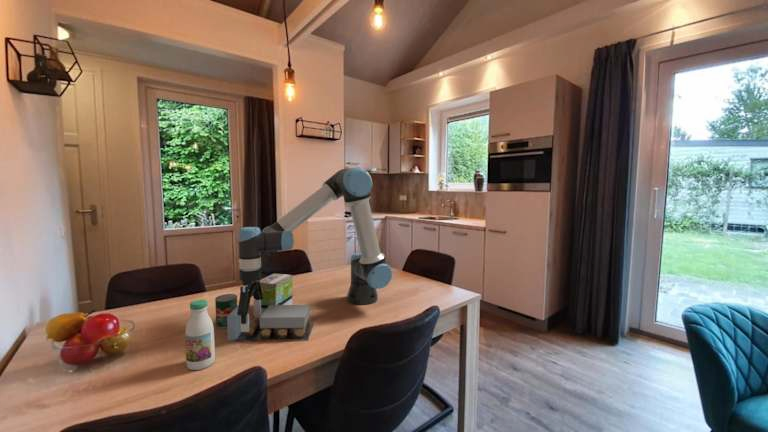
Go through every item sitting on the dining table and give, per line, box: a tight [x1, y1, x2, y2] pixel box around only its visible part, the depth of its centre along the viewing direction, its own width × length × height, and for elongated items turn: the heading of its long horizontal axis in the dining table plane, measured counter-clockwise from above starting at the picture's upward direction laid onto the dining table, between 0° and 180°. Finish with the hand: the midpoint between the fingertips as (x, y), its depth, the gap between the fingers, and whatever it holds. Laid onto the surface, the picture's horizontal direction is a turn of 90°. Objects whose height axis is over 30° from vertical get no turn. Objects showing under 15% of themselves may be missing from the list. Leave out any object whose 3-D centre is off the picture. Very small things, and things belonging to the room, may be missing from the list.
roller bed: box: [233, 316, 315, 342], centre depth 123 cm, size 26×15×4 cm, turn 94°
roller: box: [244, 316, 261, 337], centre depth 123 cm, size 10×3×3 cm, turn 3°
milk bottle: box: [184, 299, 216, 371], centre depth 99 cm, size 8×8×20 cm
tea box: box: [260, 273, 294, 315], centre depth 143 cm, size 15×10×15 cm, turn 168°
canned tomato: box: [214, 293, 238, 329], centre depth 128 cm, size 8×8×11 cm
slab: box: [259, 304, 311, 328], centre depth 123 cm, size 16×12×4 cm
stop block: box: [226, 303, 251, 342], centre depth 122 cm, size 3×14×9 cm, turn 4°
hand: (251, 323), depth 122 cm, fingers open, 13 cm apart
